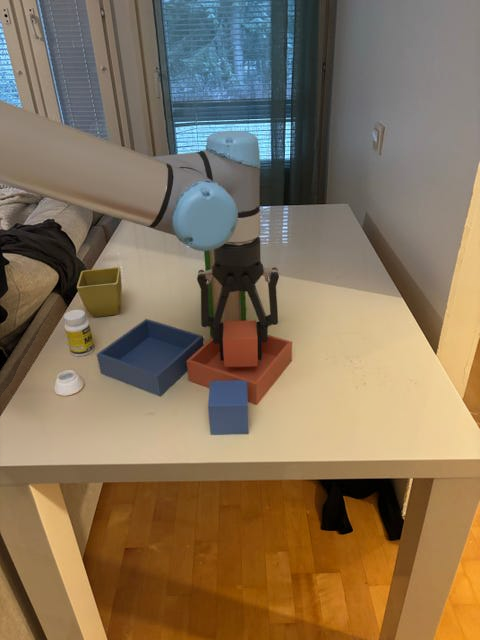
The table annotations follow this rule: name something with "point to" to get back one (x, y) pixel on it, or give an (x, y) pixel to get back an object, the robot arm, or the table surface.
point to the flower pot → (100, 291)
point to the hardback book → (235, 301)
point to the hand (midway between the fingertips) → (241, 355)
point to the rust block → (240, 343)
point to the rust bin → (258, 378)
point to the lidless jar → (68, 383)
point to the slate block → (228, 407)
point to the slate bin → (150, 356)
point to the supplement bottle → (78, 333)
